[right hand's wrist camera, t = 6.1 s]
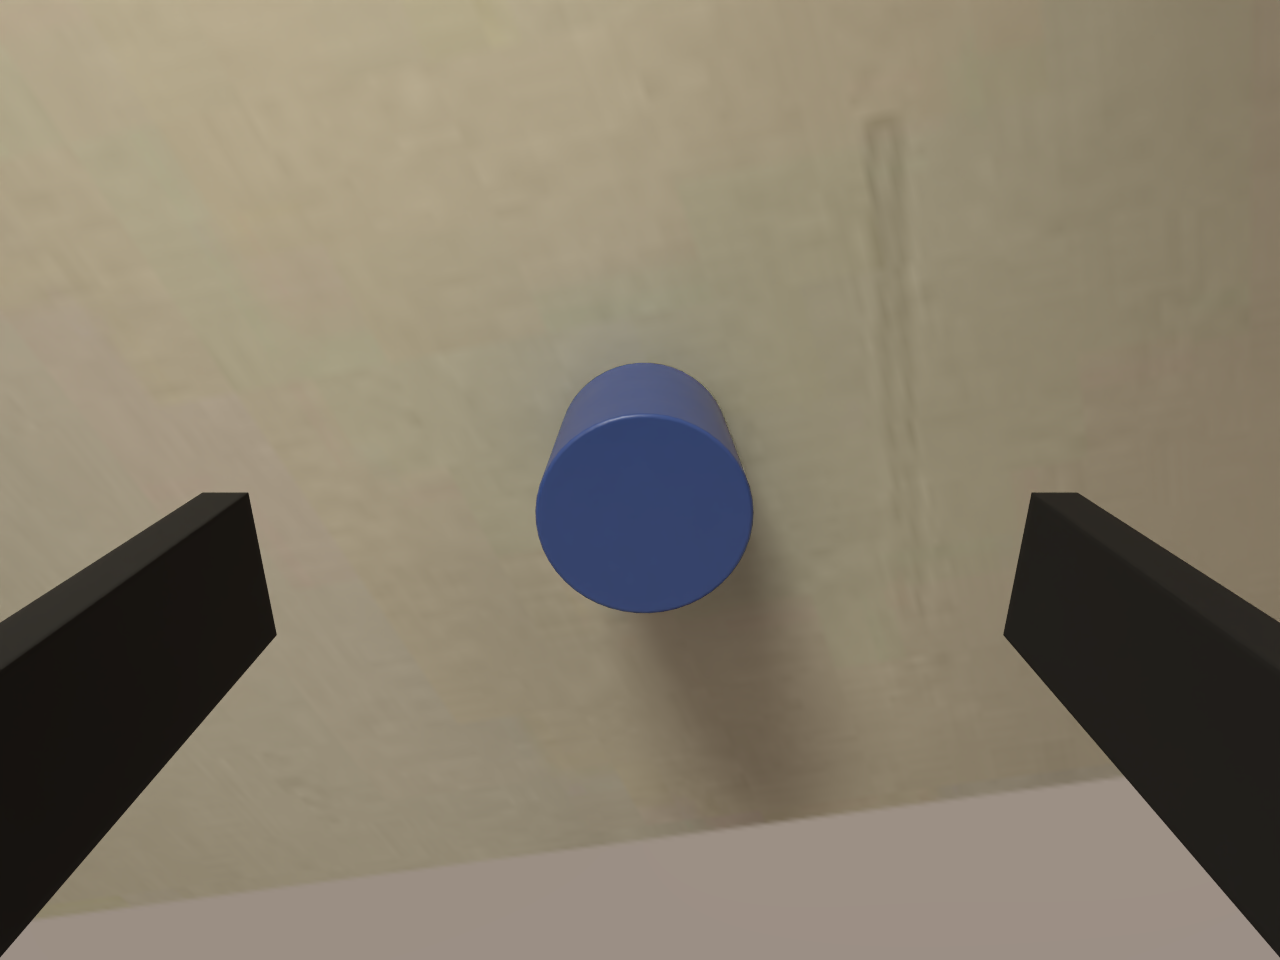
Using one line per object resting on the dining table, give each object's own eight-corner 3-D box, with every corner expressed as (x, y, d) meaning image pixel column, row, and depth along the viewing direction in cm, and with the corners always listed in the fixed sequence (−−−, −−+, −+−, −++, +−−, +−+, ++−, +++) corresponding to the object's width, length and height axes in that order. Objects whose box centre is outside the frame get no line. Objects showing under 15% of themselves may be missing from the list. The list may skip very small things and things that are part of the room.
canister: (718, 526, 19) (739, 621, 14) (557, 515, 18) (532, 607, 14) (737, 368, 17) (768, 422, 13) (563, 356, 17) (537, 406, 13)
